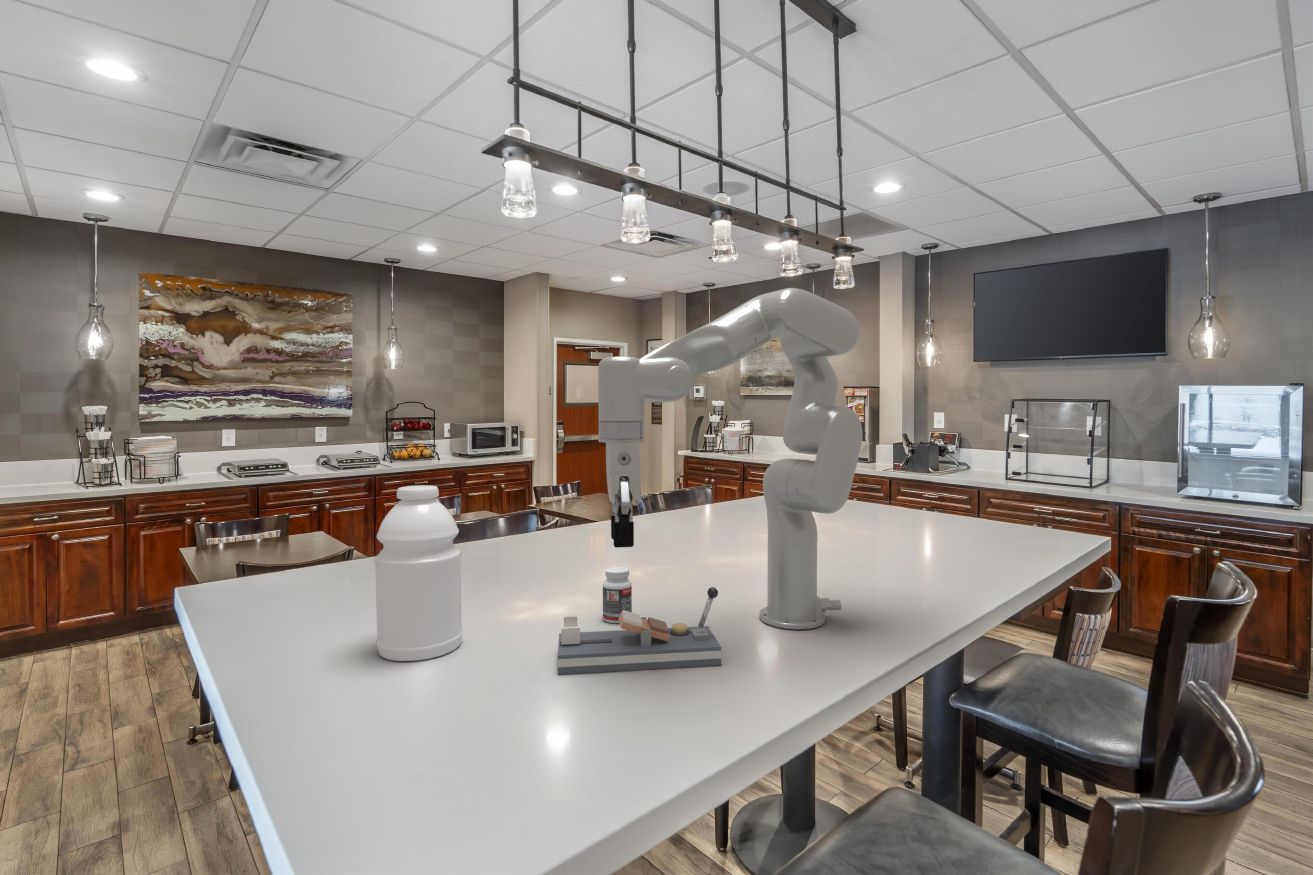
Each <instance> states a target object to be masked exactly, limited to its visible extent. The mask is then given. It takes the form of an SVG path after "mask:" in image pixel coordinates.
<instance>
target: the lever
mask: <svg viewBox="0 0 1313 875" xmlns="http://www.w3.org/2000/svg"><path fill="white" fill-rule="evenodd" d="M706 593H707V596H708V597H707V599H706V602H705V605H704V608H703V611H702V614H701V616H700V619H699V622H698V626H697V627H698V628H699V629H703V627H704V626H705V625H706V621H707V618H708V616H709V613H710V610H711V607H712V604H713V601H714V599H716V598H717V597H718V595H719V591H718V589H717V588H716V587H715V586H714V587H713V586H711V587H709V588H708V589H707V591H706Z"/></svg>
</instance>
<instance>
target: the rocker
mask: <svg viewBox="0 0 1313 875" xmlns="http://www.w3.org/2000/svg"><path fill="white" fill-rule="evenodd" d="M641 617H642V616H641V615H640V614H638V613H636V612H633V611H632V612H628V611H625V610H623V611H622V613H621V612H620V615H619V622H620V623H619V625H620V629H621V630H628V631H632V632H636V633H639V634H641V631H647V630H651V637H654V638H658V639H661V640H665V641H668V639H669V636H670V635H669V629H668V628H669V627H668V625H667V623H666V621H664V620H661V619H657V618H654V617H650V616H649V617H647V618H646V619H642V618H641Z"/></svg>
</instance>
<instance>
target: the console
mask: <svg viewBox="0 0 1313 875" xmlns="http://www.w3.org/2000/svg"><path fill="white" fill-rule="evenodd" d="M640 617H641V618H642V619H646V620H647V616H640ZM668 629H669V635H670V636H669V639H668V641H665V640H661V639H658V638H654V637H651V630H647V631H641V634H639V633H636V632H632V631H628V630H625V629H621V630H619V629H618V630H603V631H602V630H600V631H583V632H582V631H580V644H564V645H561V632H560V633H558V644H557V645H558V646H557V675H559V676H560V675H575V674H591V673H607V672H608V673H612V672H626V671H629V672H631V671H644V670H645V671H646V670H648V671H649V670H661V669H662V670H663V669H680V668H682V669H683V668H697V667H698V668H699V667H700V668H701V667H715V666H722V645H721V644H720V643H719V641H718V640H717V638H716V637H715V635H714V633H713V632H712V630H711V628H710V627H709V625H704V627H703V629H699V628H698V626H688V624H686V623H682V622H676V623H673V624H672V625H671V627H668Z"/></svg>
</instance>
